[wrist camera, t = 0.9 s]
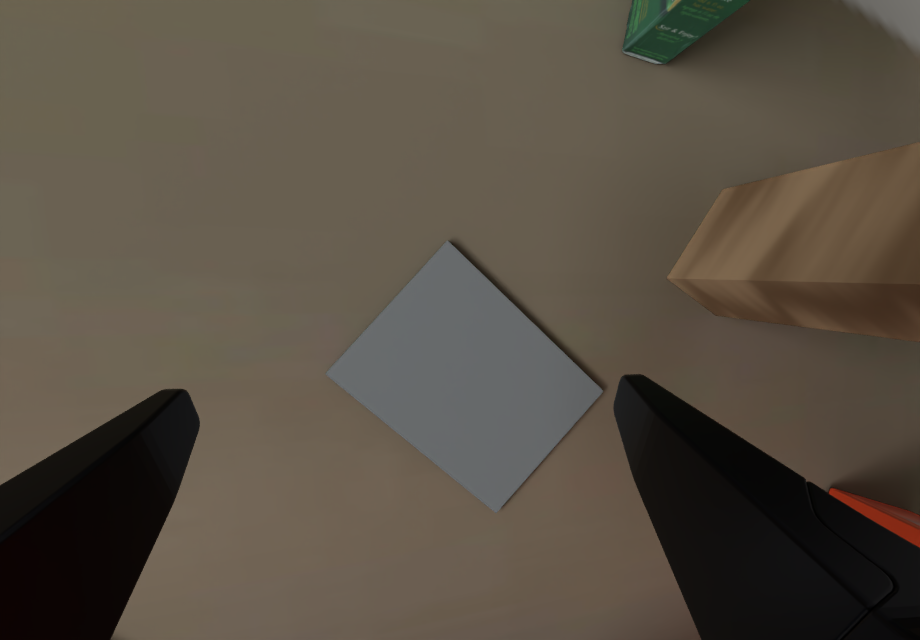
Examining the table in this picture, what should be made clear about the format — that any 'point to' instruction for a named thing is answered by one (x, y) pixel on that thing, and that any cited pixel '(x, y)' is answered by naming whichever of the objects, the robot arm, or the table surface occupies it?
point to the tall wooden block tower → (815, 248)
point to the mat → (466, 378)
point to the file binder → (884, 515)
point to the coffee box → (672, 25)
